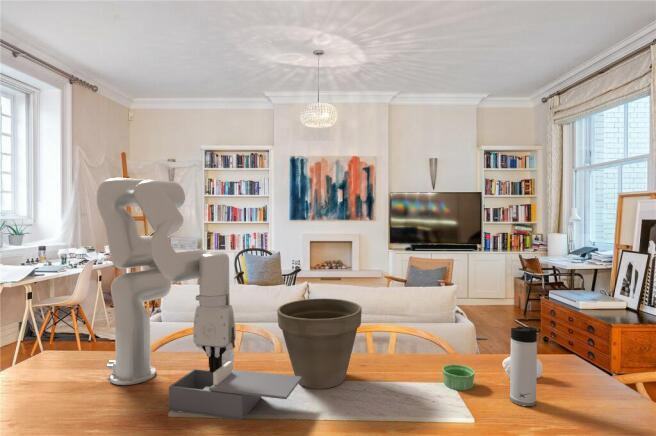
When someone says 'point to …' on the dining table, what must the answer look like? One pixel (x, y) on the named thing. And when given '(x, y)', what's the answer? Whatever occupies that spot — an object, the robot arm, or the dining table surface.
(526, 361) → the travel mug
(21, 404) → the dining table surface
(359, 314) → the plant pot
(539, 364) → the bust
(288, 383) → the mailer lid
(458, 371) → the ramekin
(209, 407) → the box
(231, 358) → the white cup
